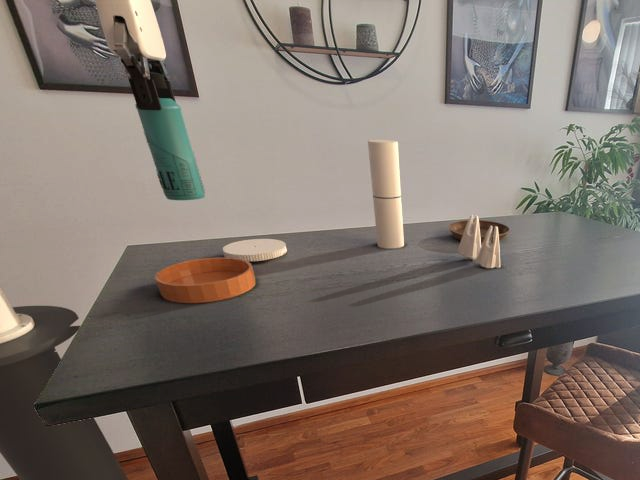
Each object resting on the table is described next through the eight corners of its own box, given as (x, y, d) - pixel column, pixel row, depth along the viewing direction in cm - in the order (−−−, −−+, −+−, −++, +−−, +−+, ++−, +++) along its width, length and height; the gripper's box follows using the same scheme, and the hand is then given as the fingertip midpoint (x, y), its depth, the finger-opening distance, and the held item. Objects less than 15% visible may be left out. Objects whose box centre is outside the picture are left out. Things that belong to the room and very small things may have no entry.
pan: (147, 306, 82) (140, 288, 80) (176, 275, 96) (170, 259, 94) (248, 299, 86) (243, 282, 84) (261, 271, 100) (257, 255, 98)
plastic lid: (295, 249, 114) (293, 239, 113) (275, 266, 103) (273, 255, 101) (240, 248, 114) (237, 238, 112) (214, 265, 102) (211, 254, 101)
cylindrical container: (381, 249, 117) (371, 142, 103) (374, 242, 122) (364, 139, 108) (407, 247, 119) (401, 142, 106) (400, 240, 125) (393, 139, 111)
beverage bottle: (213, 202, 83) (179, 73, 73) (200, 210, 78) (161, 71, 67) (176, 202, 82) (135, 71, 72) (160, 209, 77) (113, 69, 66)
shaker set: (456, 258, 112) (456, 213, 106) (468, 255, 114) (468, 210, 108) (489, 270, 105) (491, 222, 99) (501, 267, 107) (504, 220, 101)
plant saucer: (516, 245, 124) (517, 234, 123) (454, 247, 121) (454, 235, 119) (500, 229, 139) (501, 219, 137) (444, 230, 135) (444, 220, 133)
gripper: (111, -28, 69) (152, 107, 78) (48, -61, 54) (108, 109, 64) (165, -23, 70) (199, 109, 80) (117, -53, 56) (166, 111, 66)
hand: (158, 108), depth 72 cm, fingers closed on beverage bottle, 6 cm apart
